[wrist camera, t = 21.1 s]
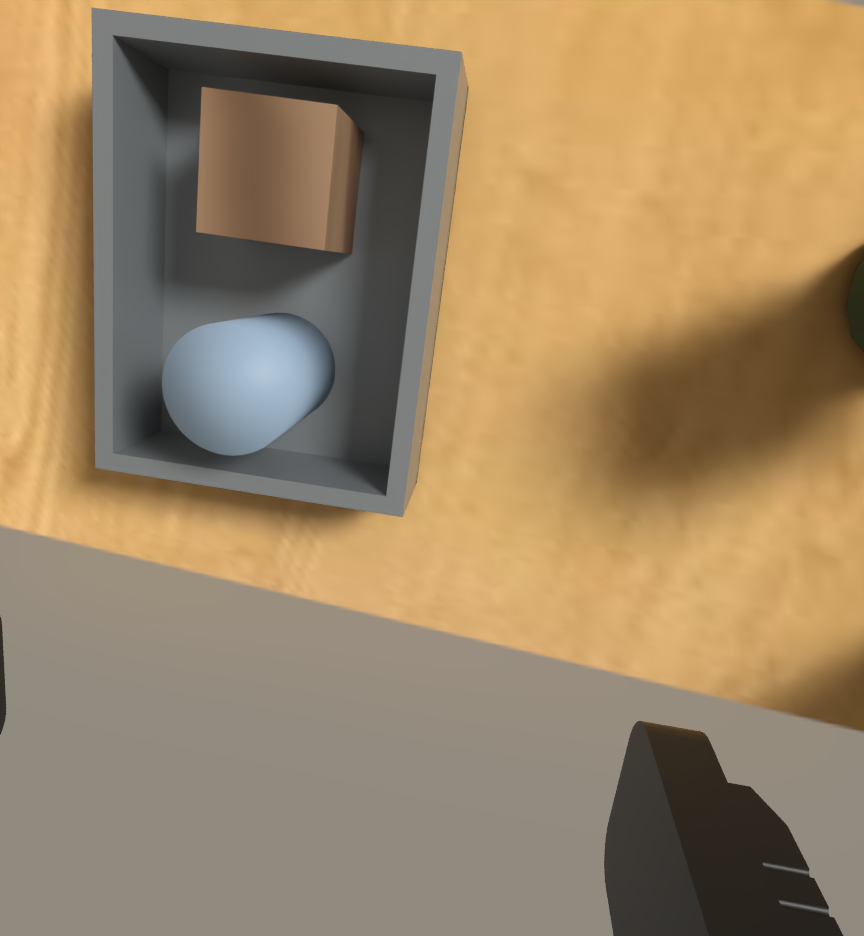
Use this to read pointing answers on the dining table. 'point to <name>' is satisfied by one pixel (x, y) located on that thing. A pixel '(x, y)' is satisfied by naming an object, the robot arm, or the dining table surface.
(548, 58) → the dining table surface
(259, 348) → the blue cylinder
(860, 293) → the character mug
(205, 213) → the walnut cube
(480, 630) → the dining table surface
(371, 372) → the tote
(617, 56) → the dining table surface
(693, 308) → the dining table surface
